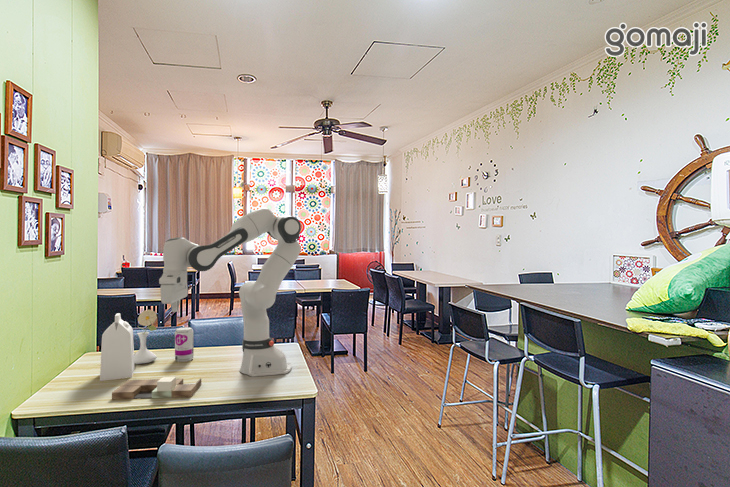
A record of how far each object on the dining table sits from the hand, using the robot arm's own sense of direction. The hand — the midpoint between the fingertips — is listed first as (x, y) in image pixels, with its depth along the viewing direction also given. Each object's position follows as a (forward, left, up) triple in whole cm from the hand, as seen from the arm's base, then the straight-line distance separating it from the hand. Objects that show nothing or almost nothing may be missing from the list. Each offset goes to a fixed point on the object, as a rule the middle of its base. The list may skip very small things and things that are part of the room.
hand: (175, 311), depth 170 cm
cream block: (-1, +13, -27) cm, 30 cm away
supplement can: (+7, -32, -29) cm, 44 cm away
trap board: (+3, +9, -29) cm, 31 cm away
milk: (+28, -12, -29) cm, 42 cm away
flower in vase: (+24, -29, -29) cm, 48 cm away
